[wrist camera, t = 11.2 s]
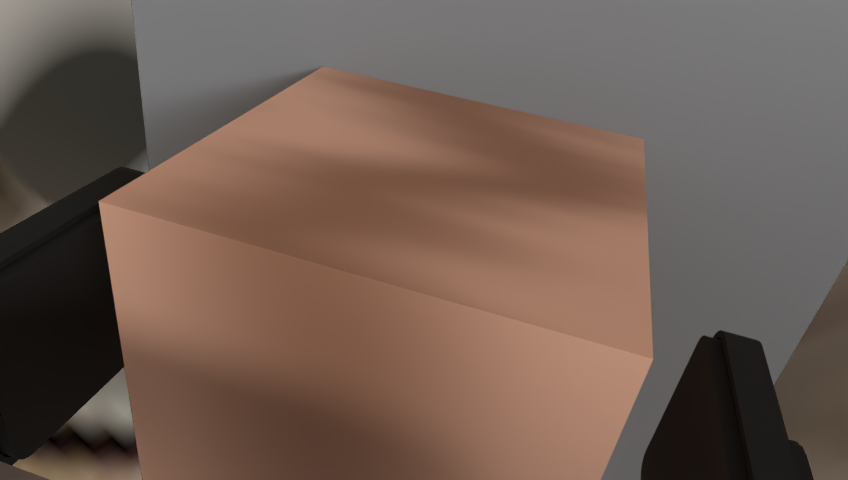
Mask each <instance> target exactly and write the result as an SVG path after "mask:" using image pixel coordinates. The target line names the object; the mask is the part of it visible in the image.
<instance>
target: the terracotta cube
mask: <svg viewBox="0 0 848 480" xmlns="http://www.w3.org/2000/svg"><path fill="white" fill-rule="evenodd" d="M99 208H100V214H101V220H102V227H103V233H104V240H105V246H106V252H107V259H108V265H109V271H110V278H111V284H112V291H113V297H114V303H115V310H116V316H117V322H118V329H119V335H120V342H121V348H122V354H123V361H124V367H125V373H126V380H127V386H128V393H129V399H130V405H131V412H132V418H133V424H134V431H135V437H136V444H137V450H138V456H139V463H140V469H141V475H142V480H601V478H602V476H603V473H604V471H605V469H606V466H607V464H608V462H609V459H610V457H611V455H612V453H613V450H614V448H615V446H616V443H617V441H618V439H619V437H620V434H621V432H622V430H623V427H624V425H625V423H626V420H627V418H628V416H629V414H630V411H631V409H632V407H633V404H634V402H635V400H636V398H637V395H638V393H639V391H640V388H641V386H642V384H643V382H644V379H645V377H646V375H647V372H648V370H649V368H650V365H651V363H652V361H653V341H652V317H651V294H650V270H649V246H648V223H647V199H646V175H645V152H644V139H640V138H636V137H632V136H627V135H623V134H618V133H614V132H610V131H605V130H601V129H596V128H592V127H588V126H583V125H579V124H574V123H570V122H566V121H561V120H557V119H552V118H548V117H543V116H539V115H535V114H530V113H526V112H521V111H517V110H513V109H508V108H504V107H499V106H495V105H491V104H486V103H482V102H477V101H473V100H468V99H464V98H460V97H455V96H451V95H446V94H442V93H438V92H433V91H429V90H424V89H420V88H416V87H411V86H407V85H402V84H398V83H393V82H389V81H385V80H380V79H376V78H371V77H367V76H363V75H358V74H354V73H349V72H345V71H341V70H336V69H332V68H327V67H322V68H320V69H318V70H317V71H315V72H313V73H312V74H310V75H308V76H307V77H305V78H303V79H302V80H300V81H298V82H297V83H295V84H293V85H292V86H290V87H288V88H287V89H285V90H283V91H282V92H280V93H278V94H277V95H275V96H273V97H272V98H270V99H268V100H267V101H265V102H263V103H262V104H260V105H258V106H257V107H255V108H253V109H252V110H250V111H248V112H247V113H245V114H243V115H242V116H240V117H238V118H237V119H235V120H233V121H232V122H230V123H228V124H227V125H225V126H223V127H222V128H220V129H218V130H217V131H215V132H213V133H212V134H210V135H208V136H207V137H205V138H203V139H202V140H200V141H198V142H197V143H195V144H193V145H192V146H190V147H188V148H187V149H185V150H183V151H182V152H180V153H178V154H177V155H175V156H173V157H172V158H170V159H168V160H166V161H165V162H163V163H161V164H160V165H158V166H156V167H155V168H153V169H151V170H150V171H148V172H146V173H145V174H143V175H141V176H140V177H138V178H136V179H135V180H133V181H131V182H130V183H128V184H126V185H125V186H123V187H121V188H120V189H118V190H116V191H115V192H113V193H111V194H110V195H108V196H106V197H105V198H103V199H101V200H100V201H99Z"/></svg>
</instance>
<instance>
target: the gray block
mask: <svg viewBox="0 0 848 480" xmlns="http://www.w3.org/2000/svg"><path fill="white" fill-rule="evenodd" d="M131 2H132V11H133V22H134V31H135V41H136V51H137V60H138V69H139V79H140V88H141V98H142V108H143V117H144V127H145V136H146V145H147V156H148V166H149V171H150V170H151V169H153V168H155V167H156V166H158V165H160V164H161V163H163V162H165V161H166V160H168V159H170V158H172V157H173V156H175V155H177V154H178V153H180V152H182V151H183V150H185V149H187V148H188V147H190V146H192V145H193V144H195V143H197V142H198V141H200V140H202V139H203V138H205V137H207V136H208V135H210V134H212V133H213V132H215V131H217V130H218V129H220V128H222V127H223V126H225V125H227V124H228V123H230V122H232V121H233V120H235V119H237V118H238V117H240V116H242V115H243V114H245V113H247V112H248V111H250V110H252V109H253V108H255V107H257V106H258V105H260V104H262V103H263V102H265V101H267V100H268V99H270V98H272V97H273V96H275V95H277V94H278V93H280V92H282V91H283V90H285V89H287V88H288V87H290V86H292V85H293V84H295V83H297V82H298V81H300V80H302V79H303V78H305V77H307V76H308V75H310V74H312V73H313V72H315V71H317V70H318V69H320V68H322V67H327V68H332V69H336V70H341V71H345V72H349V73H354V74H358V75H363V76H367V77H371V78H376V79H380V80H385V81H389V82H393V83H398V84H402V85H407V86H411V87H416V88H420V89H424V90H429V91H433V92H438V93H442V94H446V95H451V96H455V97H460V98H464V99H468V100H473V101H477V102H482V103H486V104H491V105H495V106H499V107H504V108H508V109H513V110H517V111H521V112H526V113H530V114H535V115H539V116H543V117H548V118H552V119H557V120H561V121H566V122H570V123H574V124H579V125H583V126H588V127H592V128H596V129H601V130H605V131H610V132H614V133H618V134H623V135H627V136H632V137H636V138H640V139H644V152H645V175H646V199H647V223H648V246H649V270H650V294H651V317H652V341H653V361H652V363H651V365H650V368H649V370H648V372H647V375H646V377H645V379H644V382H643V384H642V386H641V388H640V391H639V393H638V395H637V398H636V400H635V402H634V404H633V407H632V409H631V411H630V414H629V416H628V418H627V420H626V423H625V425H624V427H623V430H622V432H621V434H620V437H619V439H618V441H617V443H616V446H615V448H614V450H613V453H612V455H611V457H610V459H609V462H608V464H607V466H606V469H605V471H604V473H603V476H602V478H601V480H641V467H642V461H643V457H644V454H645V452H646V449H647V447H648V445H649V443H650V441H651V439H652V437H653V435H654V433H655V430H656V428H657V426H658V424H659V422H660V420H661V418H662V416H663V414H664V412H665V410H666V408H667V405H668V403H669V401H670V399H671V397H672V395H673V393H674V391H675V389H676V387H677V385H678V382H679V380H680V378H681V376H682V374H683V372H684V370H685V368H686V366H687V364H688V362H689V360H690V357H691V355H692V353H693V351H694V349H695V347H696V345H697V343H698V341H699V339H700V338H701V337H702V336H704V335H705V336H708V337H712V338H713V337H714V335H715V334H716V333H717V332H718V331H720V330H722V331H726V332H730V333H733V334H737V335H741V336H744V337H748V338H752V339H755V340H758V341H760V342H761V344H762V346H763V350H764V353H765V357H766V360H767V364H768V368H769V371H770V375H771V378H772V382H773V386H774V384H775V383H776V381H777V379H778V377H779V376H780V374H781V372H782V371H783V369H784V367H785V366H786V364H787V362H788V361H789V359H790V357H791V355H792V354H793V352H794V350H795V349H796V347H797V345H798V344H799V342H800V340H801V339H802V337H803V335H804V333H805V332H806V330H807V328H808V327H809V325H810V323H811V322H812V320H813V318H814V317H815V315H816V313H817V311H818V310H819V308H820V306H821V305H822V303H823V301H824V300H825V298H826V296H827V295H828V293H829V291H830V289H831V288H832V286H833V284H834V283H835V281H836V279H837V278H838V276H839V274H840V273H841V271H842V269H843V267H844V266H845V264H846V262H847V261H848V0H131Z"/></svg>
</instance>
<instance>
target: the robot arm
mask: <svg viewBox="0 0 848 480" xmlns="http://www.w3.org/2000/svg"><path fill="white" fill-rule="evenodd" d="M143 174H145V173H144V172H140V171H137V170H133V169H129V168H125V167H120V168H117V169H115V170H113V171H111V172H110V173H108V174H106V175H104V176H102V177H101V178H99V179H97V180H95V181H93V182H92V183H90V184H88V185H86V186H84V187H83V188H81V189H79V190H77V191H76V192H74V193H72V194H70V195H68V196H67V197H65V198H63V199H61V200H59V201H58V202H56V203H54V204H52V205H50V206H49V207H47V208H45V209H43V210H41V211H40V212H38V213H36V214H34V215H32V216H31V217H29V218H27V219H25V220H23V221H22V222H20V223H18V224H16V225H15V226H13V227H11V228H9V229H7V230H6V231H4V232H2V233H0V480H49V479H46V478H44V477H41V476H38V475H35V474H33V473H30V472H27V471H25V470H22V469H19V468H17V467H14V466H12V465H13V464H14V463H15V462H16V461H17V460H18V459H25V458H27V457H29V456H30V455H32V454H33V453H34V452H35V451H36V450H37V449H38V448H39V447H41V446H42V445H43V444H44V443H45V442H46V441H47V440H48V439H49V438H50V437H51V436H52V435H53V434H54V433H55V432H56V431H57V430H58V429H59V428H60V427H61V426H63V425H64V424H65V423H66V422H67V421H68V420H69V419H70V418H71V417H72V416H73V415H74V414H75V413H76V412H77V411H78V410H79V409H80V408H81V407H82V406H83V405H85V404H86V403H87V402H88V401H89V400H90V399H91V398H92V397H93V396H94V395H95V394H96V393H97V392H98V391H99V390H100V389H101V388H102V387H103V386H104V385H105V384H106V383H108V382H109V381H110V380H111V379H112V378H113V377H114V376H115V375H116V374H117V373H118V372H119V371H120V370H121V369H122V368H123V367H124V361H123V354H122V348H121V342H120V335H119V329H118V322H117V316H116V310H115V303H114V297H113V291H112V284H111V278H110V271H109V265H108V259H107V252H106V246H105V240H104V233H103V227H102V220H101V214H100V208H99V201H100V200H101V199H103V198H105V197H106V196H108V195H110V194H111V193H113V192H115V191H116V190H118V189H120V188H121V187H123V186H125V185H126V184H128V183H130V182H131V181H133V180H135V179H136V178H138V177H140V176H141V175H143ZM641 480H814V479H813V476H812V472H811V469H810V466H809V463H808V459H807V456H806V454H805V452H804V450H803V447H802V446H801V445H799V444H798V443H797V442H795V441H792V440H788V436H787V432H786V429H785V425H784V422H783V418H782V414H781V411H780V407H779V404H778V400H777V396H776V393H775V389H774V386H773V382H772V378H771V375H770V371H769V368H768V364H767V360H766V357H765V353H764V350H763V346H762V344H761V342H760V341H758V340H755V339H752V338H748V337H744V336H741V335H737V334H733V333H730V332H726V331H722V330H720V331H718V332H717V333H716V334H715V335H714V337H713V338H712V337H708V336H705V335H704V336H702V337H701V338H700V339H699V341H698V343H697V345H696V347H695V349H694V351H693V353H692V355H691V357H690V360H689V362H688V364H687V366H686V368H685V370H684V372H683V374H682V376H681V378H680V380H679V382H678V385H677V387H676V389H675V391H674V393H673V395H672V397H671V399H670V401H669V403H668V405H667V408H666V410H665V412H664V414H663V416H662V418H661V420H660V422H659V424H658V426H657V428H656V430H655V433H654V435H653V437H652V439H651V441H650V443H649V445H648V447H647V449H646V452H645V454H644V457H643V461H642V467H641Z"/></svg>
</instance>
